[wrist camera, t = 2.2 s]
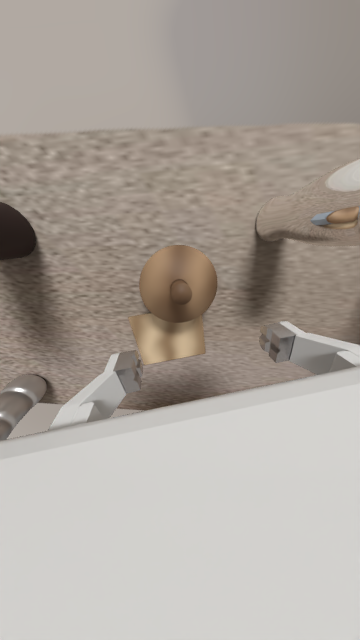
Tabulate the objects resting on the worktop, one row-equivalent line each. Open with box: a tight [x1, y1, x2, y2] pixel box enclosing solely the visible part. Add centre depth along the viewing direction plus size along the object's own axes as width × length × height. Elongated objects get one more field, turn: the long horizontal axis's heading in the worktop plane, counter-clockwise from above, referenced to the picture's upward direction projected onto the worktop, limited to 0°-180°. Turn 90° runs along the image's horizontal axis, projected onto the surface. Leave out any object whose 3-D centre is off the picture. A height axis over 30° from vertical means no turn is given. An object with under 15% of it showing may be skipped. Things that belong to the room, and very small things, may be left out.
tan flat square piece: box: [128, 313, 205, 365], centre depth 32 cm, size 14×12×1 cm
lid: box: [139, 245, 217, 323], centre depth 21 cm, size 11×11×4 cm
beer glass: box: [256, 158, 360, 247], centre depth 18 cm, size 7×7×15 cm
